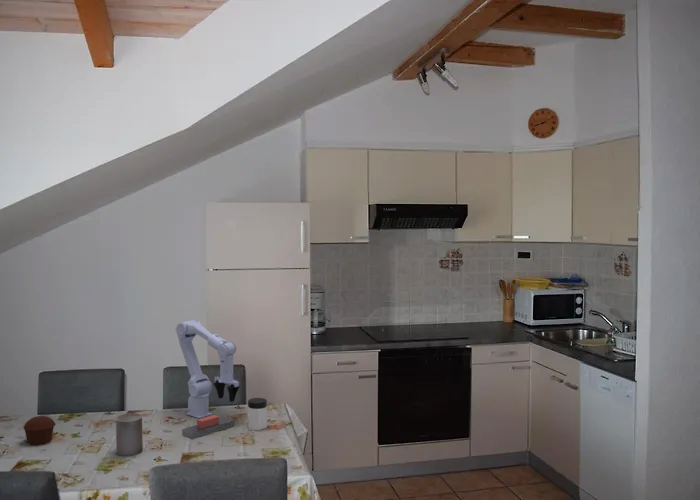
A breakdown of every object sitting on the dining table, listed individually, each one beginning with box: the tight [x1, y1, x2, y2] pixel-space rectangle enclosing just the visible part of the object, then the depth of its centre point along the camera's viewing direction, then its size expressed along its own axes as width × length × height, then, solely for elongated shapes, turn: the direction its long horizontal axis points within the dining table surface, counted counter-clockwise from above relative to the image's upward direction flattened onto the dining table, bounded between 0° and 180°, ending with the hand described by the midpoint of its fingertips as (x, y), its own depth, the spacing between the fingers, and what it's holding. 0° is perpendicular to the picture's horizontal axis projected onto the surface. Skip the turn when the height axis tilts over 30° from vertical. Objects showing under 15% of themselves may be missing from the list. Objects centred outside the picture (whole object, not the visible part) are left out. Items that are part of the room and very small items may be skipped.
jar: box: [247, 397, 268, 431], centre depth 284 cm, size 9×8×12 cm
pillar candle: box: [115, 412, 144, 457], centre depth 253 cm, size 10×10×15 cm
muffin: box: [23, 415, 56, 446], centre depth 262 cm, size 12×11×10 cm
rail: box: [181, 416, 235, 440], centre depth 279 cm, size 7×22×2 cm, turn 140°
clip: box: [196, 414, 220, 428], centre depth 278 cm, size 4×9×5 cm, turn 141°
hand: (226, 399), depth 291 cm, fingers open, 7 cm apart
